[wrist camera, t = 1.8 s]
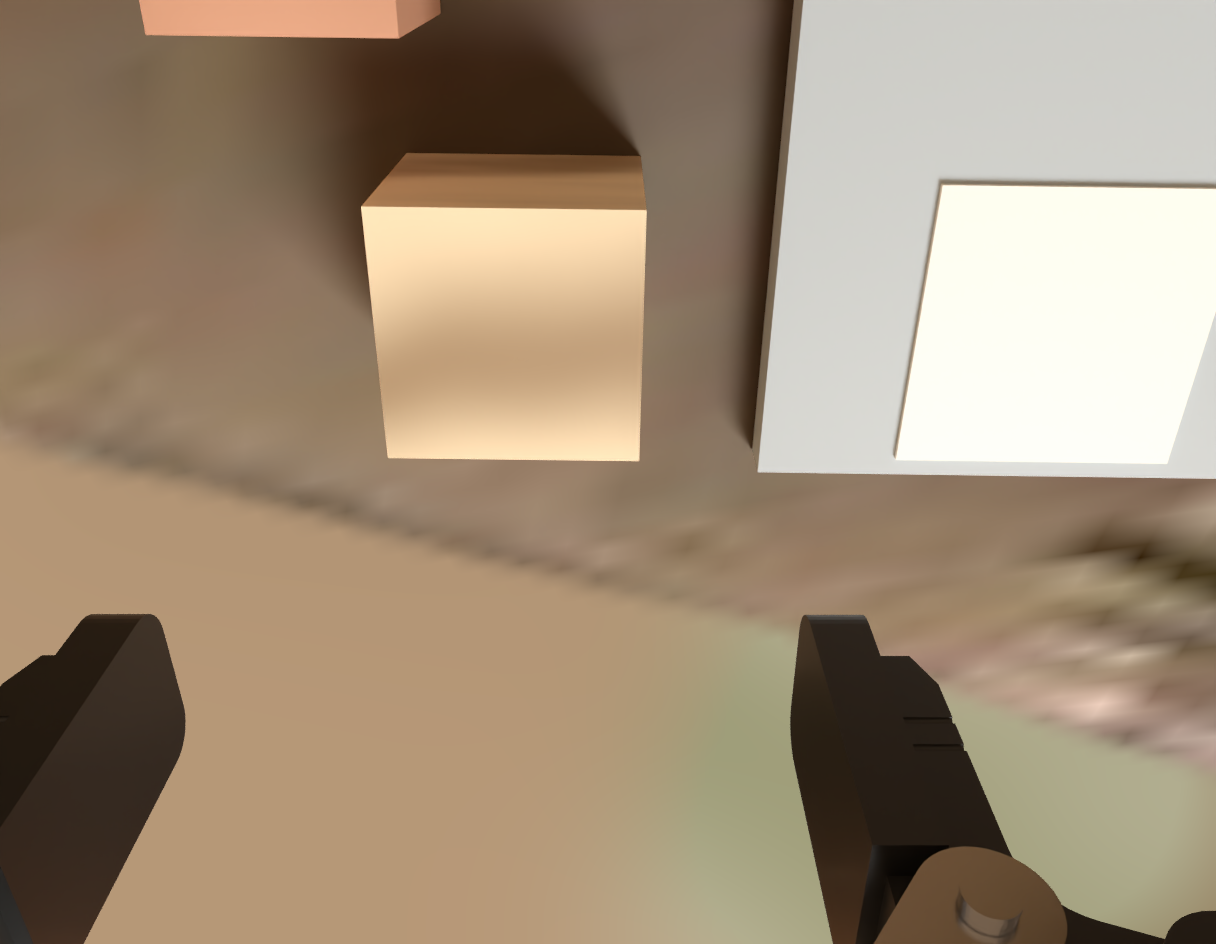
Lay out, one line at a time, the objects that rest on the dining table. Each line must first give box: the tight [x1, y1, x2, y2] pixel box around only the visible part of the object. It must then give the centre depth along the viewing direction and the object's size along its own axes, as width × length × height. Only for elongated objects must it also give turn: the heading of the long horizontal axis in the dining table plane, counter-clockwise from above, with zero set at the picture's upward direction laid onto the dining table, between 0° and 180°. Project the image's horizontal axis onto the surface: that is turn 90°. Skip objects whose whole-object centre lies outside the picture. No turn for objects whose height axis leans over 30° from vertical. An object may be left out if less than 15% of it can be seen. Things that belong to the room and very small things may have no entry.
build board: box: [752, 0, 1216, 479], centre depth 24 cm, size 12×18×1 cm, turn 89°
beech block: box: [361, 153, 647, 461], centre depth 23 cm, size 6×6×5 cm
